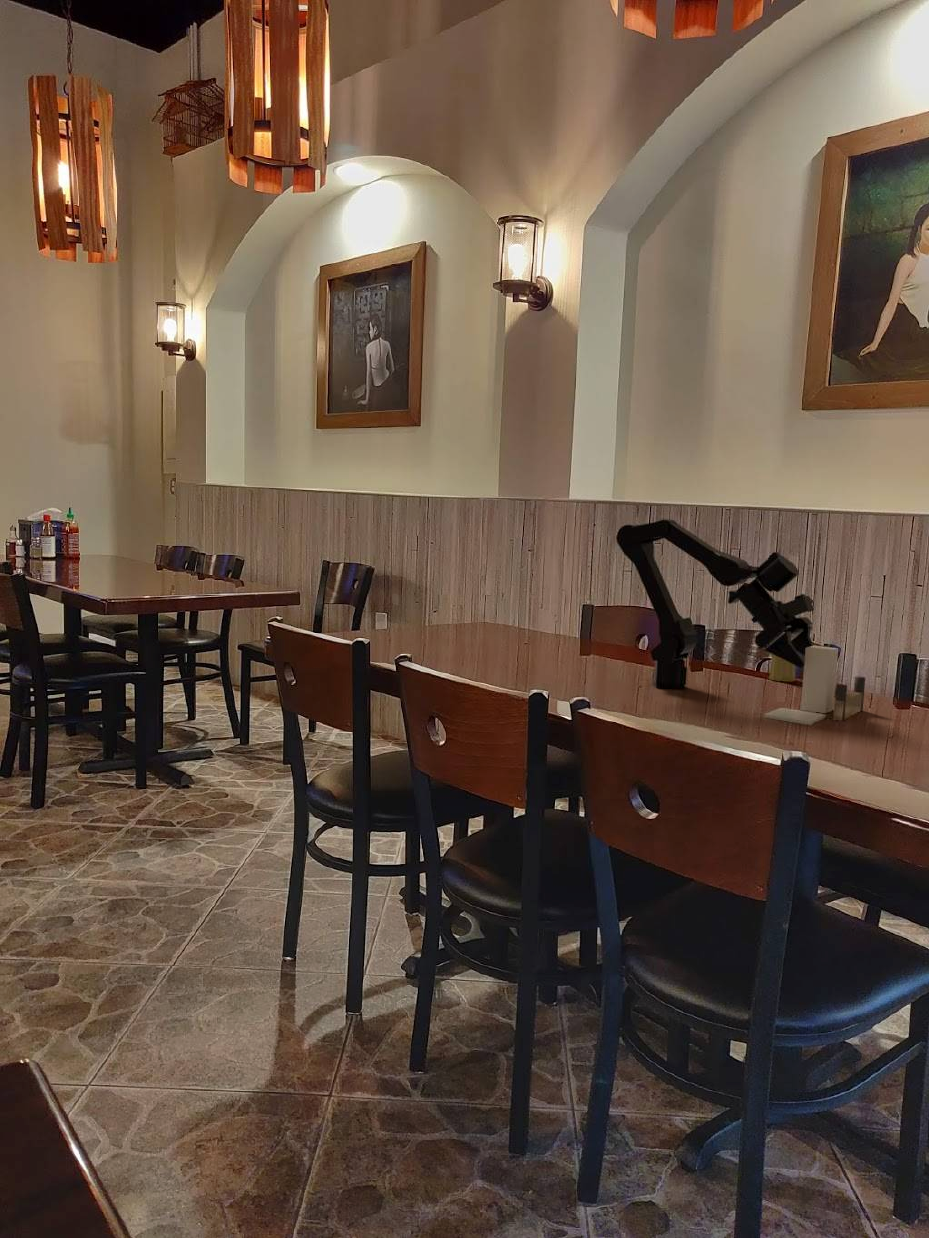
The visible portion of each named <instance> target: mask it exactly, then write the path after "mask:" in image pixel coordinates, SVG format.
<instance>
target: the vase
mask: <svg viewBox="0 0 929 1238" xmlns="http://www.w3.org/2000/svg"><path fill="white" fill-rule="evenodd" d="M770 662H771V663H770V672H769V677H768V679H769V680H771V681H774V680H775V682H780V681H783V682H782V683H792V682H795V681H796V665H794V664H792V663H790V662H788V661H786V660H784V659H782V658H780V657H778V656H776V655H773V654H771V661H770Z"/></svg>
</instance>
